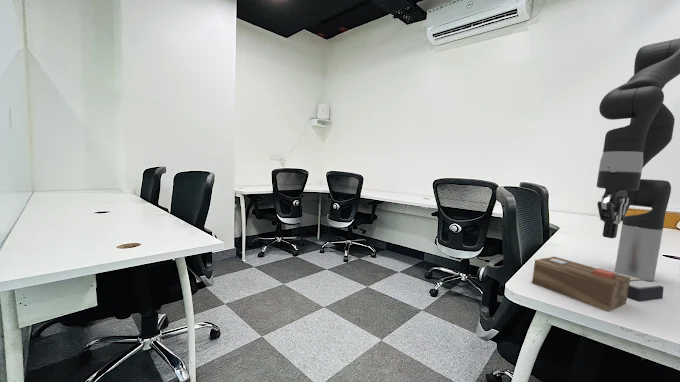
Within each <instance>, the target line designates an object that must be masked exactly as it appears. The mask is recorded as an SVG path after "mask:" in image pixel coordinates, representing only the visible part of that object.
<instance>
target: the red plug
mask: <svg viewBox="0 0 680 382" xmlns="http://www.w3.org/2000/svg"><path fill="white" fill-rule="evenodd" d="M602 269H603V268H602ZM602 269H595V270H593V274H594V275H598V276H601V277H604V278H608V279H612V278H614V275H615V273H613V272H614V271H613V272H609V271H610V270H609V271H606V270H607V269H606V270H602Z"/></svg>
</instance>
